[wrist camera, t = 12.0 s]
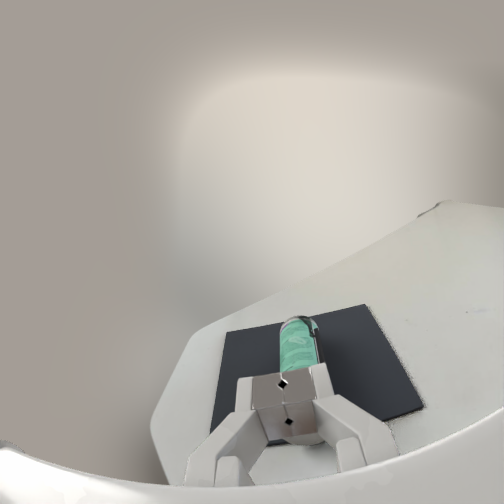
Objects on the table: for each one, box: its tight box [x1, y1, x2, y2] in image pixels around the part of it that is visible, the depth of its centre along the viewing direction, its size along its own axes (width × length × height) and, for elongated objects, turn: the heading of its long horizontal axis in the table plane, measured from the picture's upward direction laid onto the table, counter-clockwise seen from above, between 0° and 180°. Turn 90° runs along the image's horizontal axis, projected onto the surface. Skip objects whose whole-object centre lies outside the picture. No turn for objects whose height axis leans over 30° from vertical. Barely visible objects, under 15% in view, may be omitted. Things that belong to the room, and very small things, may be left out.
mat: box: [210, 304, 424, 446], centre depth 37 cm, size 24×24×1 cm
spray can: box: [280, 316, 326, 445], centre depth 33 cm, size 6×6×20 cm
